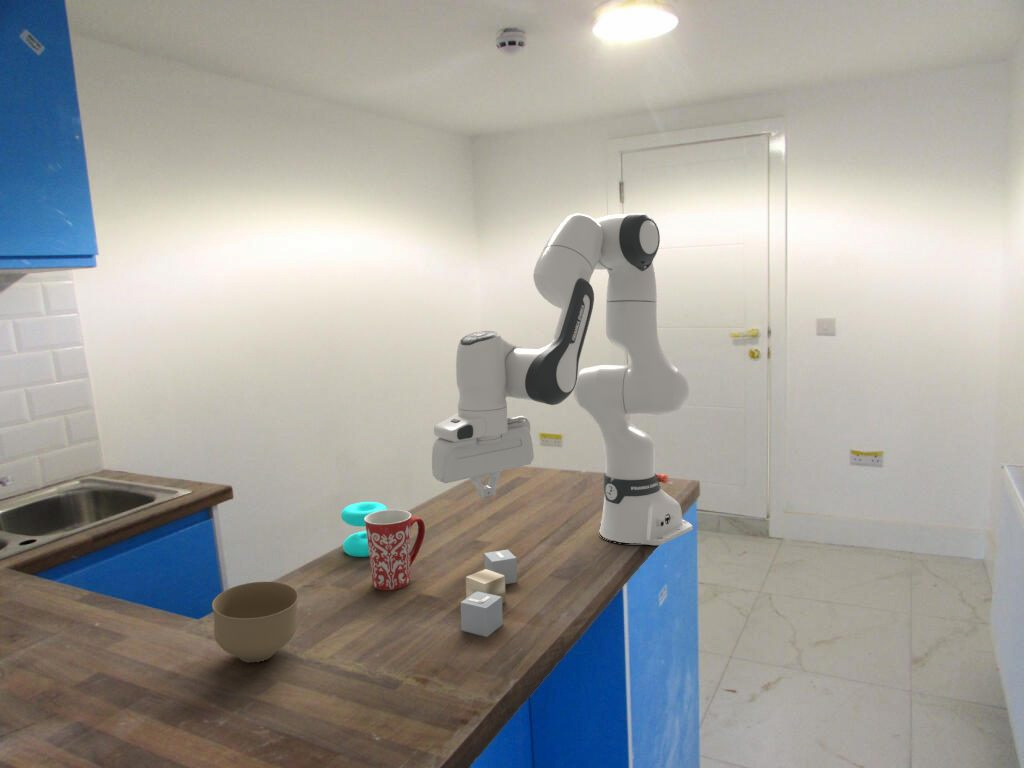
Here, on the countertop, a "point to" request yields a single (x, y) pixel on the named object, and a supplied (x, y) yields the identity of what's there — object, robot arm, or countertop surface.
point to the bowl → (255, 619)
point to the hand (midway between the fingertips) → (486, 496)
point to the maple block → (486, 583)
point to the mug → (392, 547)
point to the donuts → (355, 517)
